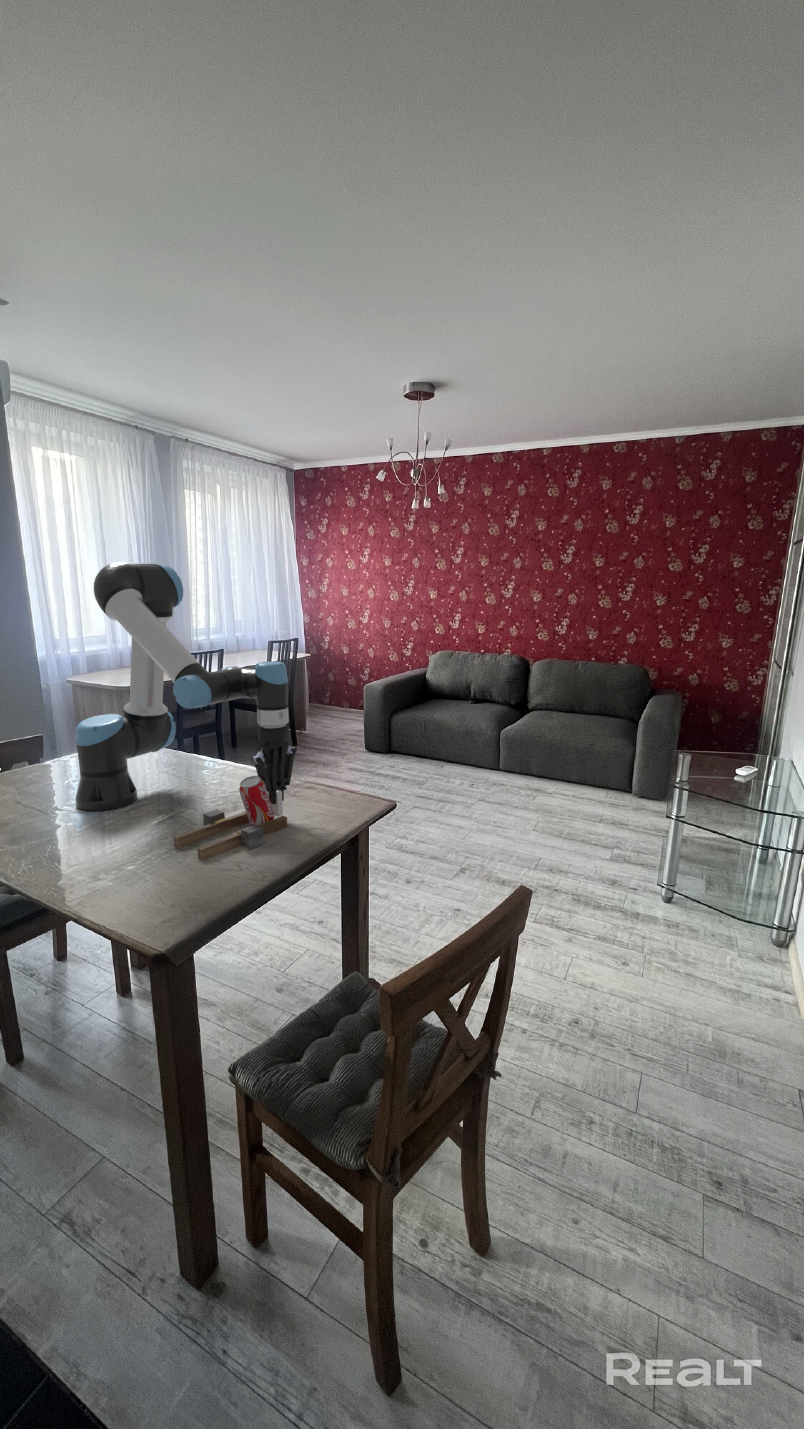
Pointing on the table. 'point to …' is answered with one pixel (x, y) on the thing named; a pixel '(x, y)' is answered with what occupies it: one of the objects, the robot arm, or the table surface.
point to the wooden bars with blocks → (218, 824)
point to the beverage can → (256, 800)
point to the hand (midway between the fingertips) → (277, 814)
